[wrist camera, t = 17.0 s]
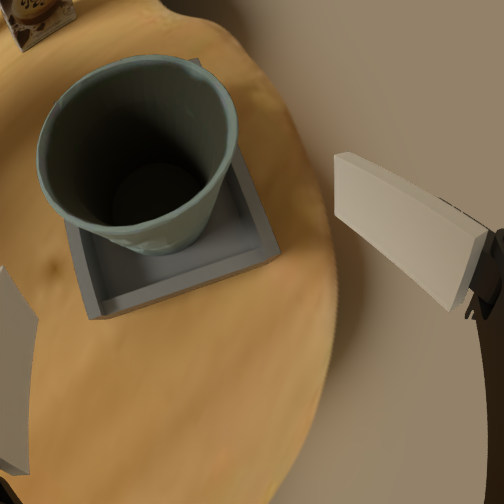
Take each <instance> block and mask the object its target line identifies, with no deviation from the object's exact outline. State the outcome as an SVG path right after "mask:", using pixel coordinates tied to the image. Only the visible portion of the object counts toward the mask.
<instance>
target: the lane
mask: <svg viewBox="0 0 504 504" xmlns="http://www.w3.org/2000/svg"><path fill="white" fill-rule="evenodd" d="M188 61H191V62H193V63H195V64H197V65H199V66H201V63H200V61H199V59H198V58H196V59H191V60H188ZM56 103H57V101H56V102H54V105H55V104H56ZM64 221H65V226H66V231H67V236H68V241H69V246H70V251H71V255H72V260H73V264H74V268H75V272H76V276H77V280H78V284H79V287H80V291H81V295H82V298H83V302H84V305H85V309H86V312H87V315H88V318H89V320H106V319H110V318H113V317H116V316H119V315H122V314H125V313H128V312H131V311H134V310H137V309H140V308H143V307H145V306H148V305H151V304H154V303H157V302H160V301H163V300H166V299H169V298H172V297H175V296H178V295H180V294H183V293H186V292H189V291H192V290H195V289H198V288H201V287H203V286H206V285H209V284H212V283H215V282H218V281H221V280H223V279H226V278H229V277H232V276H235V275H238V274H240V273H243V272H246V271H249V270H252V269H255V268H257V267H260V266H263V265H266V264H268V263H269V262H271V261H272V260H273V259H275V258H276V257H277V256H278V255H280V254H281V251H280V249H279V246H278V244H277V241H276V238H275V236H274V233H273V231H272V228H271V226H270V223H269V221H268V218H267V216H266V213H265V211H264V208H263V206H262V203H261V201H260V198H259V196H258V193H257V191H256V188H255V186H254V183H253V181H252V178H251V176H250V173H249V171H248V168H247V166H246V163H245V161H244V159H243V156H242V154H241V151H240V149H239V146H238V144H237V146H236V150H235V153H234V156H233V158H232V161H231V163H230V165H229V168H228V170H227V172H226V174H225V177H224V179H223V181H222V184H221V187H220V190H219V193H218V196H217V199H216V202H215V204H214V206H213V210H212V212H211V216H210V218H209V221H208V223H207V226H206V227H205V229H204V231H203V232H202V234H201V235H200V237H198V238H197V239H196V240H195V241H194V242H193V243H192V244H191V245H189V246H188V247H187V248H185V249H184V250H181V251H179V252H177V253H173V254H169V255H165V256H147V255H143V254H140V253H137V252H135V251H133V250H130V249H128V248H126V247H123V246H120V245H118V244H116V243H114V242H112V241H110V240H109V239H107V238H105V237H102V236H100V235H97V234H95V233H92V232H90V231H87V230H85V229H82V228H80V227H77V226H76V225H74V224H72V223H70V222H69V221H67V220H65V219H64Z"/></svg>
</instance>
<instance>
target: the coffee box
mask: <svg viewBox="0 0 504 504" xmlns="http://www.w3.org/2000/svg"><path fill="white" fill-rule="evenodd" d="M0 9H1V11H2V14H3V16H4V19H5V21H6V23H7V26H8V28H9V30H10V32H11V34H12V36H13V39H14V40H15V42H16V44H17V46H18V47H19V49H20V50H21V52H24V51H26V50H27V49H29V48H30V47H31V46H33V45H34V44H36V43H37V42H39V41H40V40H42V39H43V38H45V37H46V36H48V35H50V34H51V33H53V32H54V31H56V30H58V29H59V28H61V27H62V26H64V25H66V24H68V23H69V22H71V21H73V20H75V19H76V18H77V16H76V13H75V9H74V6H73V2H72V0H0Z"/></svg>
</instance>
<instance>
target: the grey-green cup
mask: <svg viewBox="0 0 504 504" xmlns="http://www.w3.org/2000/svg"><path fill="white" fill-rule="evenodd" d="M237 141H238V117H237V112H236V108H235V106H234V103H233V101H232V99H231V97H230V94H229V93H228V91H227V90H226V88H225V87H224V86H223V85H222V84H221V82H220V81H219V80H218V79H217V78H216V77H215V76H214V75H213V74H211V73H210V72H209V71H207V70H206V69H204V68H203V67H201V66H199V65H197V64H195V63H193V62H191V61H188V60H184V59H181V58H177V57H173V56H166V55H138V56H133V57H128V58H124V59H121V60H119V61H116V62H113V63H110V64H107V65H105V66H103V67H100V68H98V69H96V70H94V71H92V72H90V73H89V74H87V75H85V76H84V77H82V78H81V79H80V80H78V81H77V82H76V83H75V84H73V85H72V86H71V87H70V88H69V89H68V90H67V91H66V92H65V93H64V94H63V95H62V96H61V97H60V99H59V100H58V101H57V103H56V104H55V105H54V107H53V108H52V109H51V111H50V113H49V115H48V116H47V118H46V120H45V122H44V125H43V127H42V130H41V132H40V136H39V140H38V144H37V153H36V166H37V174H38V179H39V182H40V186H41V189H42V191H43V193H44V195H45V197H46V199H47V201H48V203H49V204H50V205H51V206H52V207H53V208H54V210H55V211H56V212H57V213H58V214H59V215H60V216H62V217H63V218H64V219H65V220H67V221H69V222H70V223H72V224H74V225H76V226H77V227H80V228H82V229H85V230H87V231H90V232H92V233H95V234H97V235H100V236H102V237H105V238H107V239H109V240H110V241H112V242H114V243H116V244H118V245H120V246H123V247H126V248H128V249H130V250H133V251H135V252H137V253H140V254H143V255H147V256H165V255H169V254H173V253H177V252H179V251H181V250H184V249H185V248H187V247H188V246H189V245H191V244H192V243H193V242H194V241H195V240H196V239H197V238H198V237H200V235H201V234H202V232H203V231H204V229H205V227H206V226H207V223H208V221H209V218H210V216H211V212H212V210H213V206H214V204H215V202H216V199H217V196H218V193H219V190H220V187H221V184H222V181H223V179H224V177H225V174H226V172H227V170H228V168H229V165H230V163H231V161H232V158H233V156H234V153H235V150H236V146H237Z"/></svg>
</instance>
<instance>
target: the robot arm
mask: <svg viewBox="0 0 504 504" xmlns="http://www.w3.org/2000/svg"><path fill="white" fill-rule="evenodd" d="M334 193H335V194H334V195H335V216H336V217H338V218H339V219H340V220H342V221H343V222H344V223H345V224H347V225H348V226H349V227H350V228H352V229H353V230H354V231H355V232H357V233H358V234H359V235H360V236H362V237H363V238H364V239H365V240H366V241H368V242H369V243H370V244H371V245H373V246H374V247H375V248H376V249H377V250H379V251H380V252H381V253H382V254H383V255H385V256H386V257H387V258H388V259H389V260H391V261H392V262H393V263H394V264H395V265H396V266H398V267H399V268H400V269H401V270H402V271H404V272H405V273H406V274H407V275H408V276H409V277H410V278H411V279H413V280H414V281H415V282H416V283H417V284H418V285H419V286H421V287H422V288H423V289H424V290H425V291H426V292H427V293H428V294H429V295H430V296H432V297H433V298H434V299H435V300H436V301H437V302H438V303H439V304H440V305H441V306H442V307H443V308H445V309H446V310H447V311H448V312H451V311H452V310H453V309H455V308H456V307H457V306H459V305H460V304H461V303H462V302H463V301H464V298H465V296H466V293H467V291H468V288H470V289H471V290H472V291H473V292H474V294H473V297H472V299H471V301H470V304H469V306H468V308H467V311H466V313H465V319H468V317H469V315H470V313H471V311H472V310H474V314H473V316H472V319H473V320H476V324H477V330H478V335H479V341H480V348H481V354H482V362H483V368H484V378H485V388H486V402H487V421H488V460H487V480H486V492H485V500H484V504H504V229H499V230H497V232H496V233H494V232H493V231H491V230H490V229H488V228H487V227H485V226H484V225H482V224H481V223H479V222H478V221H476V220H475V219H473V218H472V217H470V216H468V215H467V214H465V213H464V212H463V213H462V212H461V210H459V209H457V208H456V207H452V205H451V204H449V203H448V202H446V201H444V200H442V199H441V198H438V197H436V196H434V195H432V194H430V193H429V192H427V191H425V190H424V189H422V188H420V187H418V186H416V185H415V184H413V183H411V182H409V181H407V180H406V179H404V178H402V177H400V176H398V175H396V174H394V173H392V172H390V171H388V170H386V169H384V168H383V167H381V166H379V165H377V164H375V163H372V162H371V161H368V160H367V159H364V158H362V157H360V156H358V155H356V154H354V153H352V152H349V151H348V152H343V153H339V154H335V155H334ZM37 325H38V317H37V316H36V314H35V313H34V312H33V310H32V309H31V307H30V306H29V304H28V303H27V302H26V300H25V299H24V297H23V296H22V294H21V293H20V291H19V289H18V288H17V286H16V285H15V283H14V282H13V280H12V278H11V277H10V275H9V274H8V272H7V270H6V269H5V267H4V265H3V266H1V267H0V469H1V470H3V471H5V472H7V473H9V474H10V475H12V476H16V475H30V470H29V449H28V417H29V394H30V381H31V370H32V361H33V352H34V345H35V338H36V331H37ZM0 504H23V503H22V502H21V501H20V499H19V498H18V497H17V495H16V494H15V493H14V491H13V490H12V488H11V487H10V485H9V484H8V482H7V481H6V480H5V479H4V478H2V477H0Z"/></svg>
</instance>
